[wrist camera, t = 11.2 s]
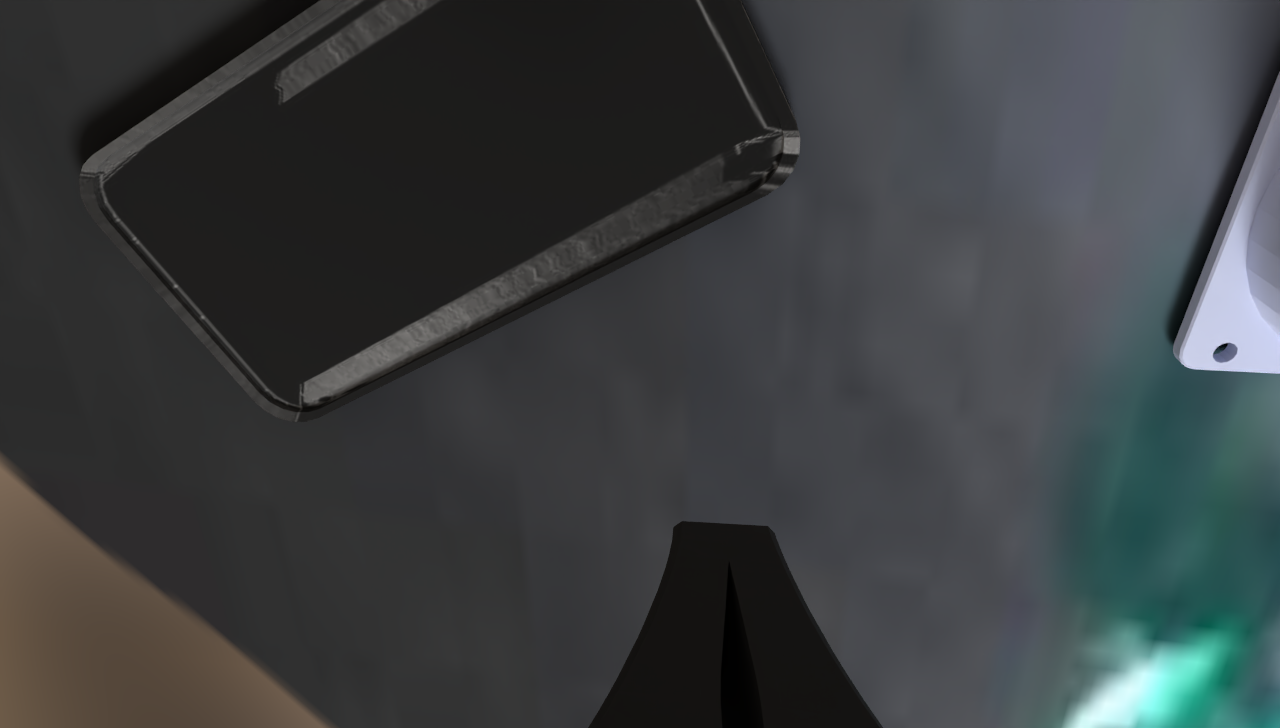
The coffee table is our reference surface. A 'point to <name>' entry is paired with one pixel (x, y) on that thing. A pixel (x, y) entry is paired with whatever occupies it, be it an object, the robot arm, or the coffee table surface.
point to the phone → (432, 176)
